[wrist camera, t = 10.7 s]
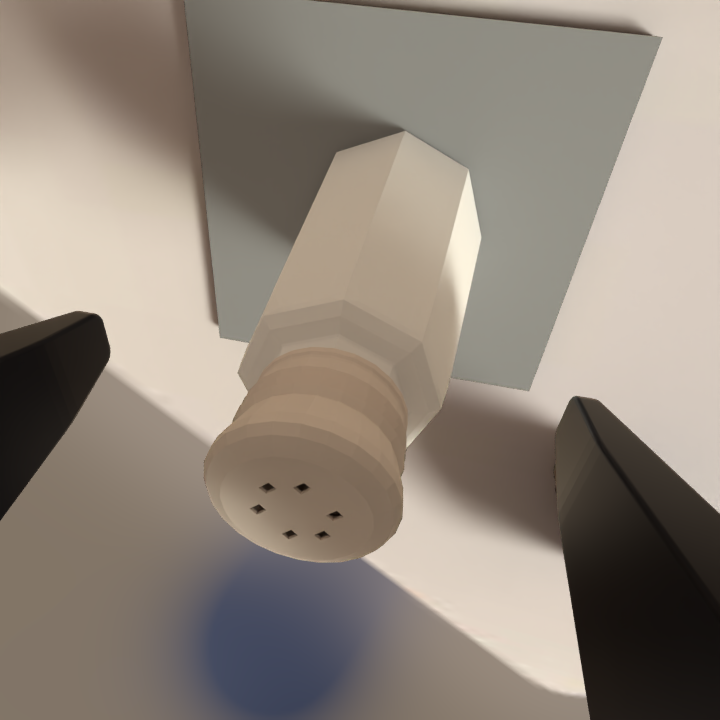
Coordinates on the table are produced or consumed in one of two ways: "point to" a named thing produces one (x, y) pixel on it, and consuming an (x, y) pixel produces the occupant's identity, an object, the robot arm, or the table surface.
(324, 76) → the mat
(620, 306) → the table surface
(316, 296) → the pepper shaker
